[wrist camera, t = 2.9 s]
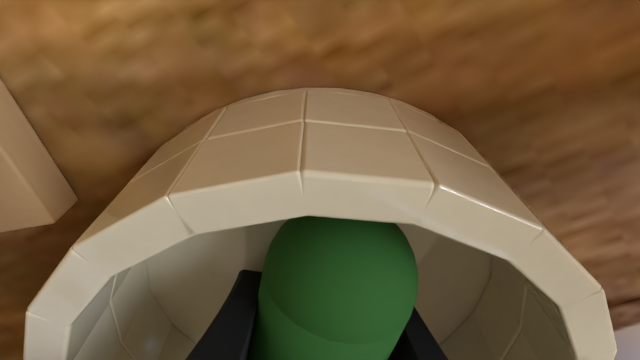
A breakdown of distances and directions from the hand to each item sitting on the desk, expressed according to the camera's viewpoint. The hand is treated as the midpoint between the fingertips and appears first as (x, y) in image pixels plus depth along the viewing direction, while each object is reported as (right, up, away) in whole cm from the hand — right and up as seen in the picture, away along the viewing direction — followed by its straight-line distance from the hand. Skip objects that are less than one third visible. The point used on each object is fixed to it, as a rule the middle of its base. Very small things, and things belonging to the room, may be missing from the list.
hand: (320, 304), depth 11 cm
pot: (0, +1, +1) cm, 1 cm away
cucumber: (0, -1, -1) cm, 1 cm away
